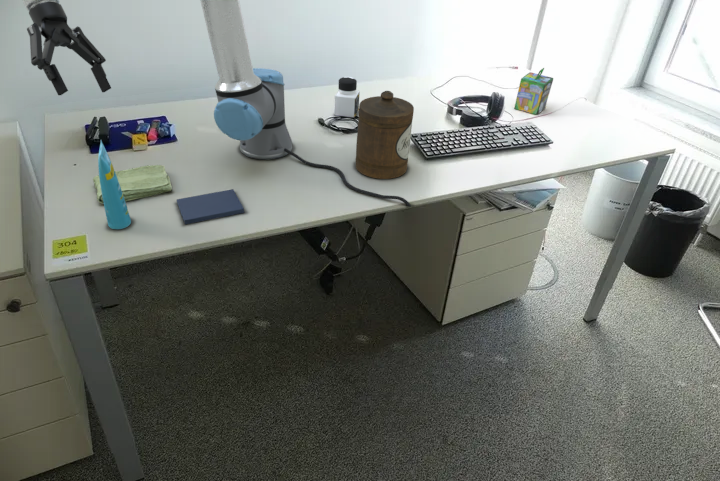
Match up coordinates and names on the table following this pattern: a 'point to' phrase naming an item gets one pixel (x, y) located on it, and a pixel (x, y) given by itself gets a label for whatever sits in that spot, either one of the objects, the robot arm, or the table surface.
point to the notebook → (209, 206)
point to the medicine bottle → (347, 98)
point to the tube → (112, 193)
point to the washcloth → (139, 182)
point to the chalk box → (533, 93)
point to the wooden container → (383, 136)
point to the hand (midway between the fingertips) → (86, 91)
